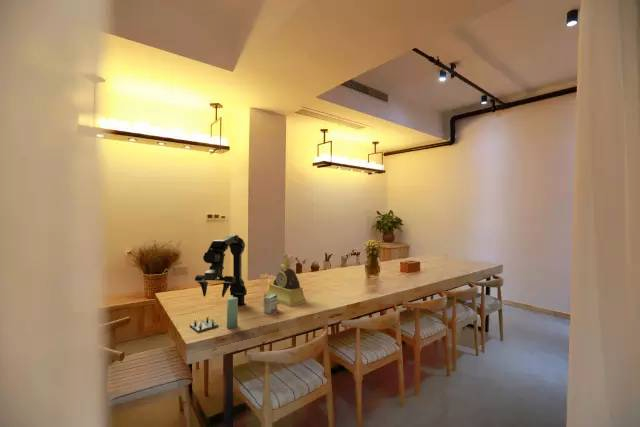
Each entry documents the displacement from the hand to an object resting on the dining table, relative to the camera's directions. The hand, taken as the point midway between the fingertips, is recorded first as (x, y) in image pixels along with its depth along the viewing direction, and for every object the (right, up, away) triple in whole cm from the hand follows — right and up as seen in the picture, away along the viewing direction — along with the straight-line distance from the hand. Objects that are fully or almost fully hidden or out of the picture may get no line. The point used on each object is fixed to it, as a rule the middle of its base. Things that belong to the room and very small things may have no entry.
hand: (213, 296), depth 137 cm
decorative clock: (+29, -16, +46) cm, 57 cm away
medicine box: (+23, -16, +25) cm, 38 cm away
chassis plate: (-5, -15, +2) cm, 16 cm away
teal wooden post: (+8, -16, +2) cm, 18 cm away
